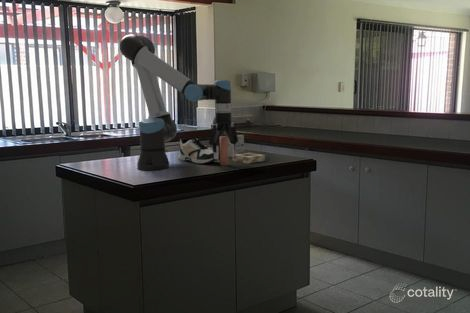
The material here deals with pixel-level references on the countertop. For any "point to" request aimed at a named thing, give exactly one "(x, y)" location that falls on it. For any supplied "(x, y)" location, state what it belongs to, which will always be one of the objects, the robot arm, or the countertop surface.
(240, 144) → the ink box
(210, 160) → the running shoe
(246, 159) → the socket
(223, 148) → the peg
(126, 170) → the countertop surface
